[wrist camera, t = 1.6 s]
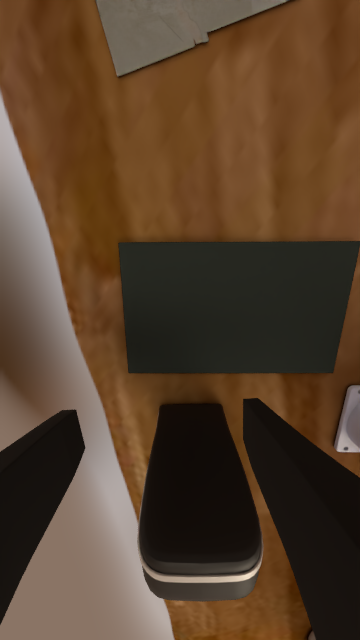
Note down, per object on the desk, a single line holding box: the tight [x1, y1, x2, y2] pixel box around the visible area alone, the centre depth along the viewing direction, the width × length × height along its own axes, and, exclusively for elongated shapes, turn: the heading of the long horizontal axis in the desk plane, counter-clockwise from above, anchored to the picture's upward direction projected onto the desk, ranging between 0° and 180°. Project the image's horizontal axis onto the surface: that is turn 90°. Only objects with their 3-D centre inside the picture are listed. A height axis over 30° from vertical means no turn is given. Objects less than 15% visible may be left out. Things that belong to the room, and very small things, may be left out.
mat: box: [119, 241, 360, 373], centre depth 17 cm, size 20×12×1 cm, turn 90°
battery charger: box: [138, 404, 263, 601], centre depth 15 cm, size 7×4×11 cm, turn 92°
